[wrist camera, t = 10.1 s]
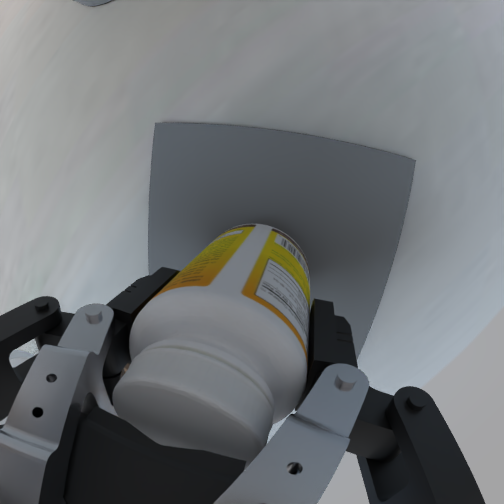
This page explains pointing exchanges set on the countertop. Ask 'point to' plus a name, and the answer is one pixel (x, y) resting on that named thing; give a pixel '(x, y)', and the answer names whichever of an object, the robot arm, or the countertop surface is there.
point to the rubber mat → (283, 205)
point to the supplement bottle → (222, 346)
